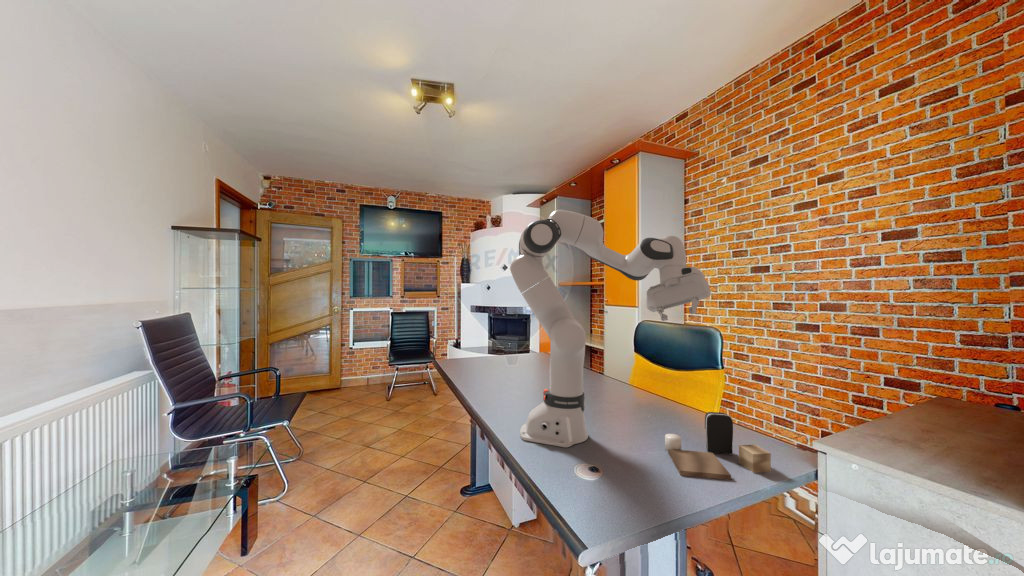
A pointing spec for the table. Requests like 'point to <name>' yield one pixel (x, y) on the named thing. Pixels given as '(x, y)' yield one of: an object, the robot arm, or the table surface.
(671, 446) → the plastic capsule
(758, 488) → the table surface
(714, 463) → the walnut pad
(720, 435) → the battery charger
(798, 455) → the table surface
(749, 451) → the oak cube
